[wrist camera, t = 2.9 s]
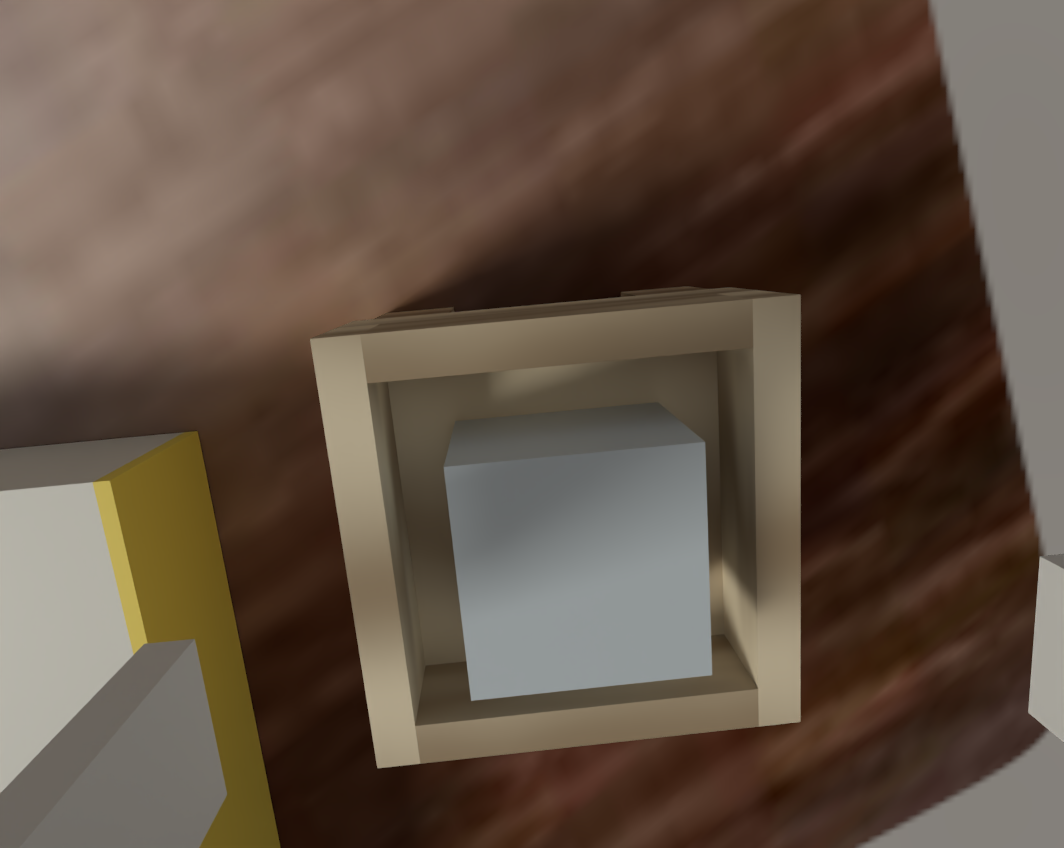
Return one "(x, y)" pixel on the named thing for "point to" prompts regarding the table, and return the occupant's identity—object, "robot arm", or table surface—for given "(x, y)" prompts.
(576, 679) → the cargo block
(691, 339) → the wooden crate with cube
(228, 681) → the dock
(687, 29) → the table surface
